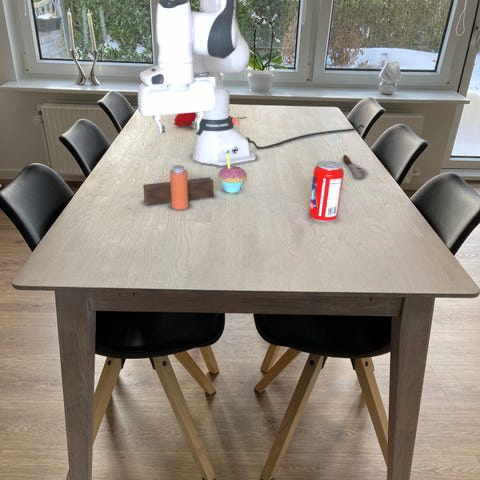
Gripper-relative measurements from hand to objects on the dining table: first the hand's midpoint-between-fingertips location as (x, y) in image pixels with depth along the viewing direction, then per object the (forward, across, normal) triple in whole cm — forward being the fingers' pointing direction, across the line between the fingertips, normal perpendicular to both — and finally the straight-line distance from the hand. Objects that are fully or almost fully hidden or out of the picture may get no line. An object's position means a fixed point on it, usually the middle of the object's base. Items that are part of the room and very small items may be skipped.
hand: (178, 130), depth 138 cm
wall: (+20, 0, -2) cm, 20 cm away
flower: (+22, -38, -73) cm, 85 cm away
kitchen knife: (+21, -66, -9) cm, 70 cm away
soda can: (+20, -33, +24) cm, 45 cm away
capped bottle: (+20, +2, +2) cm, 20 cm away
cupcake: (+21, -18, -4) cm, 27 cm away
